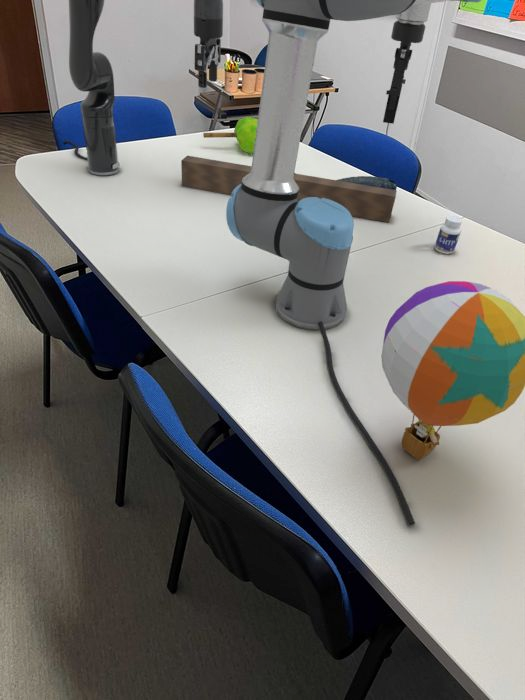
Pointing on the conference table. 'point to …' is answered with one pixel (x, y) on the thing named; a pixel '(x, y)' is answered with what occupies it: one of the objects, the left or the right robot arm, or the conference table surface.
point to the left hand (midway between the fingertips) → (207, 84)
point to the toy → (453, 358)
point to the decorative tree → (241, 134)
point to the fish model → (371, 181)
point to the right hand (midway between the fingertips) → (390, 116)
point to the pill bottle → (448, 235)
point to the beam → (349, 195)
